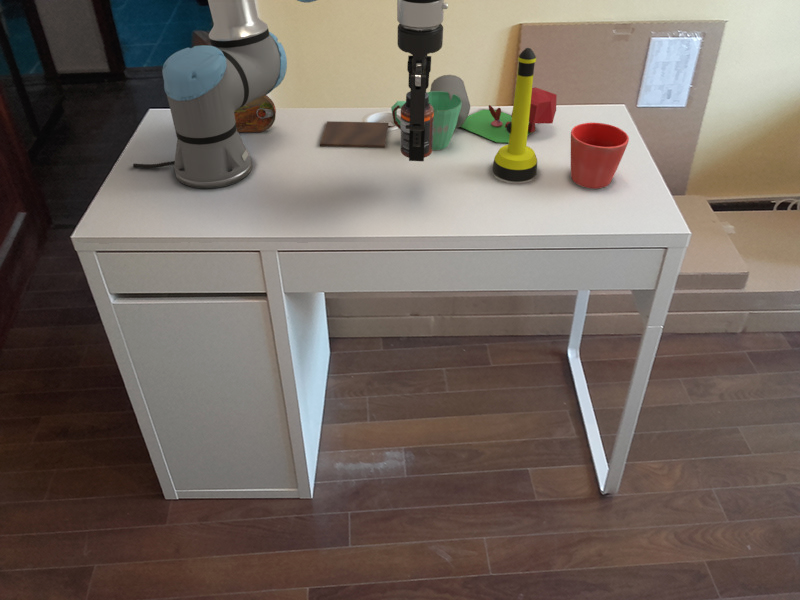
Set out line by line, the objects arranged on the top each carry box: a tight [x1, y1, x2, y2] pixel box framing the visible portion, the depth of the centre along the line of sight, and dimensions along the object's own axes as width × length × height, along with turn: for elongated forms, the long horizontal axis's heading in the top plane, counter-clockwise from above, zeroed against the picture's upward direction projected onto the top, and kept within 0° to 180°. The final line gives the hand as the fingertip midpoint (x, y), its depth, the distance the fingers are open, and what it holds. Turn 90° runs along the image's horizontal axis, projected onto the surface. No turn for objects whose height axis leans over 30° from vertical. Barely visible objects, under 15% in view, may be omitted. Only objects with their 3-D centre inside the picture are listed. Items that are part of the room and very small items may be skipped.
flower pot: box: [570, 122, 630, 190], centre depth 133 cm, size 11×11×10 cm
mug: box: [390, 91, 462, 151], centre depth 145 cm, size 15×10×10 cm
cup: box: [429, 74, 471, 130], centre depth 152 cm, size 10×9×10 cm
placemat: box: [319, 120, 389, 148], centre depth 152 cm, size 14×11×1 cm
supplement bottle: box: [400, 90, 434, 159], centre depth 124 cm, size 6×6×11 cm
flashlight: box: [491, 47, 538, 185], centre depth 131 cm, size 25×9×9 cm
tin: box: [234, 95, 277, 133], centre depth 152 cm, size 15×3×8 cm, turn 92°
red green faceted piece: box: [459, 86, 558, 144], centre depth 151 cm, size 15×20×9 cm
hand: (417, 151), depth 127 cm, fingers closed on supplement bottle, 6 cm apart
